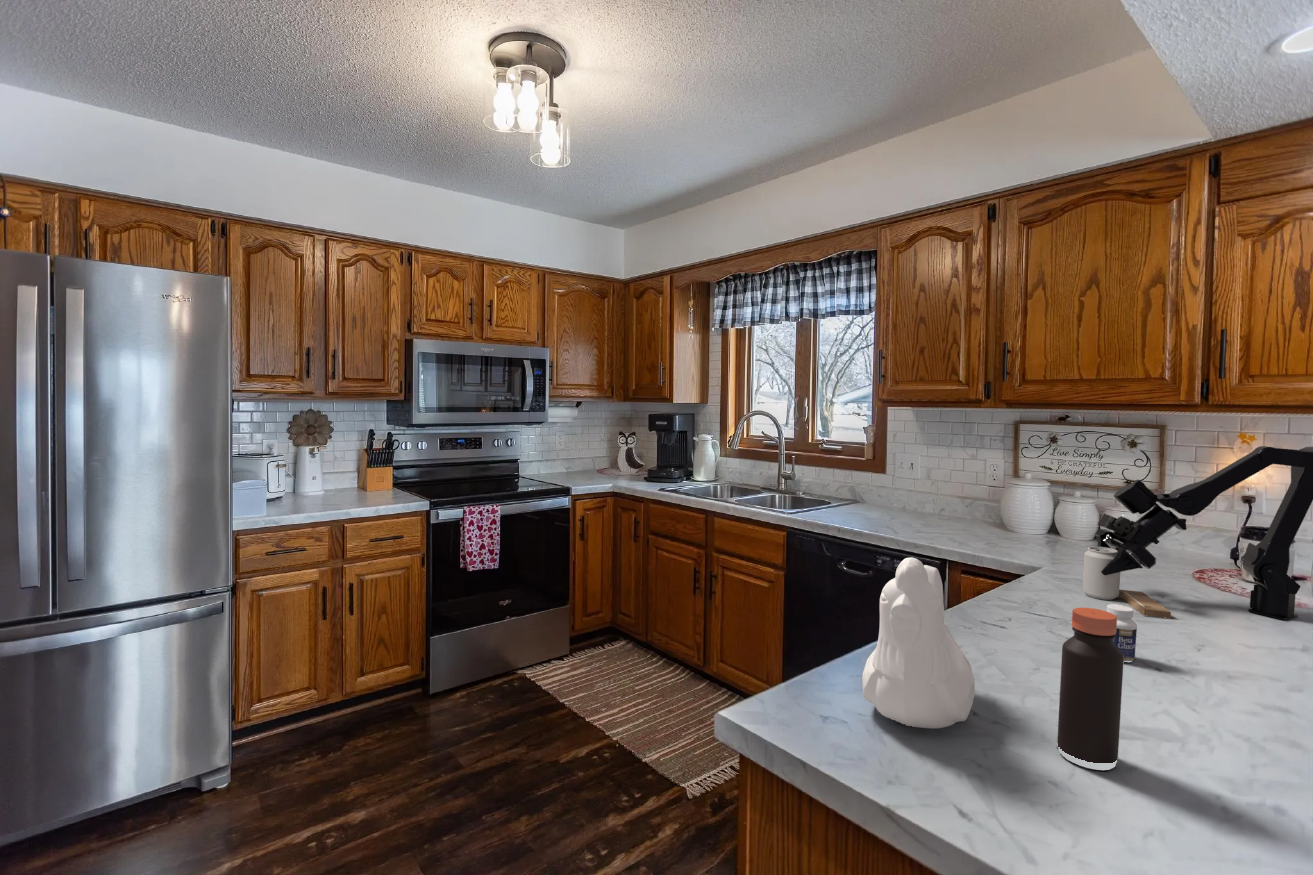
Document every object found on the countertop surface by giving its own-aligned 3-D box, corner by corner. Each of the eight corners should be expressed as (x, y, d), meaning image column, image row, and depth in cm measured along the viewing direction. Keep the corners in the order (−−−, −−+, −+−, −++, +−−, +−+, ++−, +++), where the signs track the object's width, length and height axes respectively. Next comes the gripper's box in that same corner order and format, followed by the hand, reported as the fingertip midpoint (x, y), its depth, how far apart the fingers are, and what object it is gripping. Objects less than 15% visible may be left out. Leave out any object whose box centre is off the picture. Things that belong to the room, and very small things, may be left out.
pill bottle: (1119, 665, 116) (1122, 613, 116) (1092, 653, 121) (1095, 603, 121) (1142, 662, 118) (1145, 610, 117) (1114, 651, 123) (1117, 601, 122)
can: (1107, 592, 161) (1109, 545, 160) (1125, 601, 153) (1128, 552, 153) (1075, 591, 162) (1078, 544, 161) (1093, 600, 154) (1095, 551, 153)
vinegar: (1092, 744, 89) (1100, 604, 88) (1130, 772, 83) (1139, 622, 81) (1045, 744, 89) (1052, 604, 88) (1079, 772, 82) (1087, 622, 81)
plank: (1117, 595, 158) (1118, 589, 158) (1141, 597, 157) (1142, 591, 157) (1143, 615, 143) (1144, 609, 143) (1170, 618, 142) (1170, 611, 142)
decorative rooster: (945, 760, 85) (953, 578, 83) (838, 717, 96) (843, 556, 94) (1005, 699, 103) (1012, 547, 101) (909, 669, 114) (914, 532, 112)
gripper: (1105, 498, 164) (1056, 537, 167) (1143, 510, 146) (1087, 554, 149) (1138, 529, 163) (1088, 569, 166) (1181, 546, 145) (1123, 589, 148)
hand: (1095, 569), depth 157 cm, fingers closed on can, 7 cm apart
